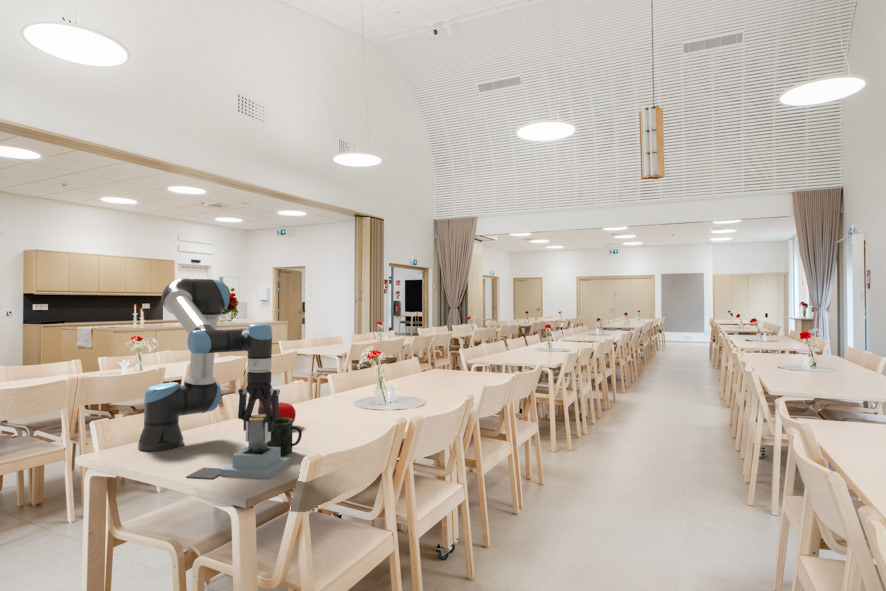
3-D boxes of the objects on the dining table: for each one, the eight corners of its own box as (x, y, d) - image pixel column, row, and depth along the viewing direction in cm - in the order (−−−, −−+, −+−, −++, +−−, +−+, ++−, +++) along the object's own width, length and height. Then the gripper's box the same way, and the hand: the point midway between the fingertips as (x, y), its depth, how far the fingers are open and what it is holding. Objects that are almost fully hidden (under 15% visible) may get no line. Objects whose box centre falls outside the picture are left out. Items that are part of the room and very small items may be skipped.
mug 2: (283, 412, 257) (283, 389, 257) (270, 417, 245) (270, 393, 246) (268, 412, 259) (268, 388, 259) (254, 416, 247) (254, 392, 248)
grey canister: (244, 460, 167) (245, 417, 167) (254, 455, 172) (254, 413, 173) (261, 461, 166) (262, 418, 166) (270, 456, 172) (271, 414, 172)
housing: (220, 475, 162) (221, 456, 162) (247, 460, 178) (247, 443, 178) (268, 478, 160) (268, 459, 160) (290, 463, 176) (290, 445, 176)
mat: (186, 477, 160) (186, 476, 160) (203, 468, 169) (203, 467, 169) (212, 479, 159) (212, 478, 159) (228, 470, 168) (228, 469, 168)
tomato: (288, 431, 220) (288, 405, 220) (259, 429, 222) (260, 404, 222) (300, 424, 232) (300, 400, 232) (273, 423, 234) (273, 399, 234)
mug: (269, 448, 193) (269, 417, 193) (306, 450, 191) (307, 418, 192) (255, 457, 182) (256, 423, 182) (295, 459, 181) (295, 424, 181)
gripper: (226, 371, 167) (225, 442, 167) (281, 373, 164) (280, 445, 164) (238, 368, 175) (237, 436, 174) (291, 370, 172) (290, 439, 172)
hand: (258, 440), depth 169 cm, fingers closed on grey canister, 6 cm apart
